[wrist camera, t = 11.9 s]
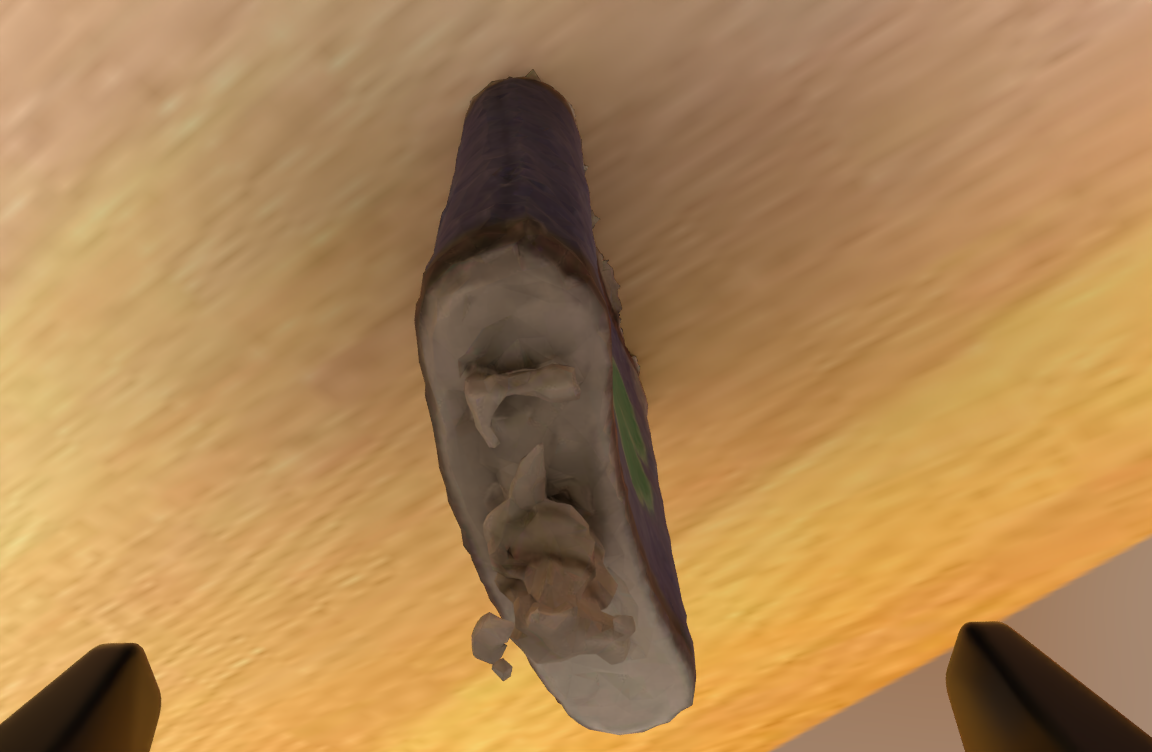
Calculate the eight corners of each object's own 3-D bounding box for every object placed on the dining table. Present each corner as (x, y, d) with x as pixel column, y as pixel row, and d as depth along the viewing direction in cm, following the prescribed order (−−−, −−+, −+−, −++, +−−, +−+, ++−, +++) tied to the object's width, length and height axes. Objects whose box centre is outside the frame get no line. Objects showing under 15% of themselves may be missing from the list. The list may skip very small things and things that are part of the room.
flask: (656, 425, 21) (731, 839, 12) (544, 448, 22) (537, 870, 13) (568, 54, 17) (585, 275, 8) (428, 91, 17) (281, 345, 8)
